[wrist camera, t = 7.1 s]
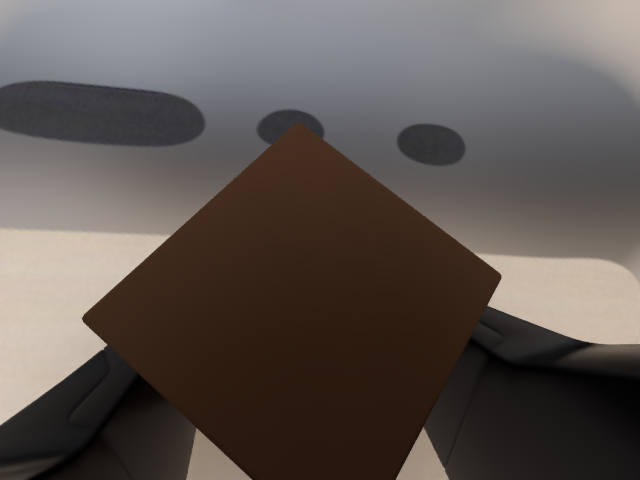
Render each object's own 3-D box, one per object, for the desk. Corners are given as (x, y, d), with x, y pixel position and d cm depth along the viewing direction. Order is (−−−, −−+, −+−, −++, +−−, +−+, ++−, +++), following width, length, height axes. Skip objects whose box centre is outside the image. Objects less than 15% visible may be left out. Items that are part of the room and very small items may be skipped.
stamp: (282, 401, 14) (298, 837, 2) (217, 344, 15) (-105, 405, 2) (350, 307, 16) (572, 227, 4) (291, 259, 17) (327, 51, 4)
